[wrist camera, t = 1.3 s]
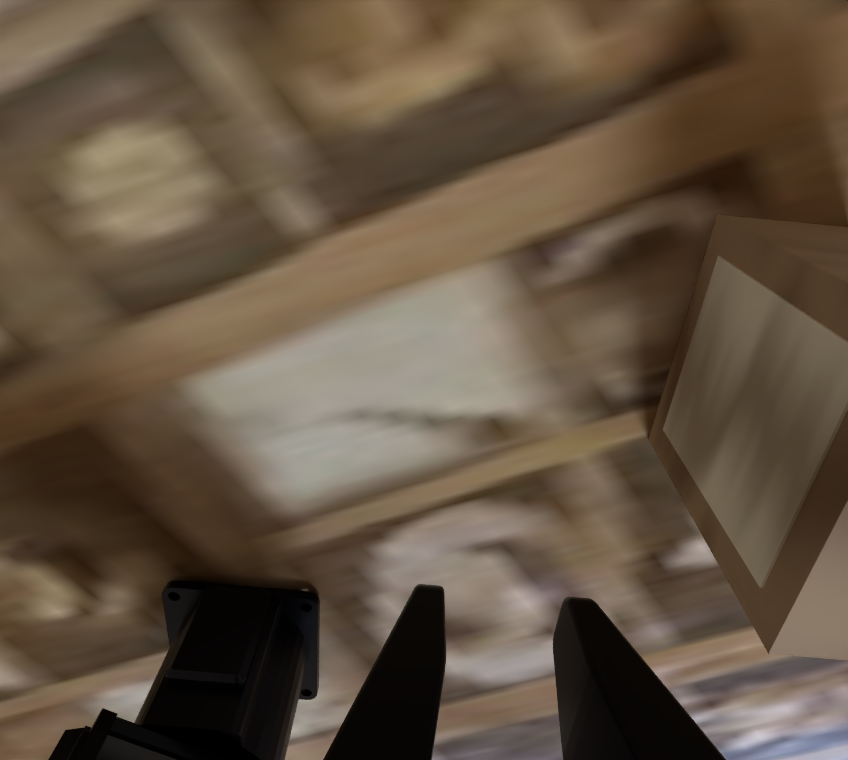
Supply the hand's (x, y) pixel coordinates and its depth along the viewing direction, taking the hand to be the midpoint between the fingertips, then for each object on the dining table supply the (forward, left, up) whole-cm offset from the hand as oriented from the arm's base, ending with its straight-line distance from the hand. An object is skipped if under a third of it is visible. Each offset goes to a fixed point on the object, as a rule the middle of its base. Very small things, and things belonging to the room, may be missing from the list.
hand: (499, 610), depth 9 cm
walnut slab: (0, -9, -12) cm, 15 cm away
